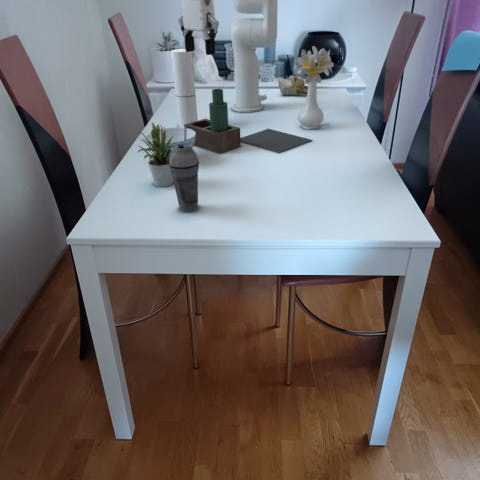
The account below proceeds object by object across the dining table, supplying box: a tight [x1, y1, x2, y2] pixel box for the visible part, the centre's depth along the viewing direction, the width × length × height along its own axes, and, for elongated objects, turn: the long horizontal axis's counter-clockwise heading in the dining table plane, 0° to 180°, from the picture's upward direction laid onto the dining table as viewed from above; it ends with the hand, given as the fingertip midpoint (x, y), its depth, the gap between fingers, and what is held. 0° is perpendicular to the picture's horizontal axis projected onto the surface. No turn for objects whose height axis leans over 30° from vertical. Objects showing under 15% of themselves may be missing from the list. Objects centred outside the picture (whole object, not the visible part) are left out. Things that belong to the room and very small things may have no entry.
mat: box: [240, 128, 313, 154], centre depth 165 cm, size 16×20×1 cm
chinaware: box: [145, 127, 196, 156], centre depth 151 cm, size 15×15×8 cm
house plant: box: [130, 121, 180, 188], centre depth 134 cm, size 14×14×16 cm
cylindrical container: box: [170, 48, 199, 128], centre depth 176 cm, size 7×7×25 cm
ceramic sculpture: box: [277, 73, 308, 96], centre depth 214 cm, size 11×9×15 cm
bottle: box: [208, 88, 229, 133], centre depth 157 cm, size 6×6×18 cm
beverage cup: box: [169, 126, 200, 213], centre depth 118 cm, size 7×7×20 cm
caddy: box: [184, 118, 242, 154], centre depth 163 cm, size 9×17×6 cm, turn 44°
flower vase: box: [294, 45, 335, 130], centre depth 169 cm, size 13×18×25 cm
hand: (200, 52), depth 148 cm, fingers open, 9 cm apart
